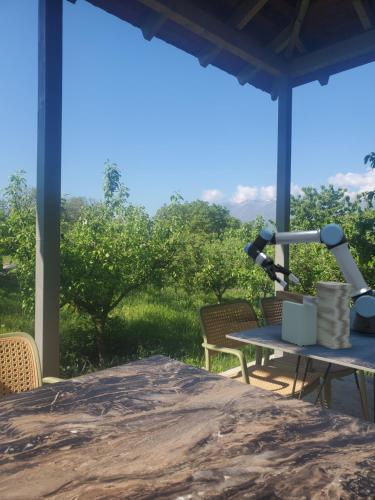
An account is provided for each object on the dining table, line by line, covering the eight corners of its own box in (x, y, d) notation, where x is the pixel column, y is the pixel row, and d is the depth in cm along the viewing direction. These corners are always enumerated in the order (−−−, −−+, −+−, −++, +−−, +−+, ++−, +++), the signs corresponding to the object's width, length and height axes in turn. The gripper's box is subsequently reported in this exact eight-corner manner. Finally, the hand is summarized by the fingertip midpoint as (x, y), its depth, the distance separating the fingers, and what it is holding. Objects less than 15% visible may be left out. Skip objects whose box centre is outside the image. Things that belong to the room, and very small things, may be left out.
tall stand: (330, 340, 201) (332, 281, 201) (352, 347, 189) (354, 284, 188) (312, 342, 197) (313, 282, 196) (332, 349, 184) (334, 285, 183)
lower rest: (297, 337, 205) (298, 300, 205) (316, 344, 193) (317, 304, 192) (281, 339, 201) (282, 301, 201) (299, 345, 189) (300, 305, 188)
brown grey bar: (281, 297, 213) (281, 290, 213) (317, 305, 187) (318, 297, 187) (275, 298, 212) (275, 290, 212) (311, 306, 186) (311, 297, 186)
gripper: (273, 264, 246) (299, 285, 234) (249, 269, 228) (276, 292, 217) (279, 254, 242) (306, 275, 230) (255, 258, 225) (283, 281, 213)
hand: (291, 283), depth 223 cm, fingers open, 13 cm apart
